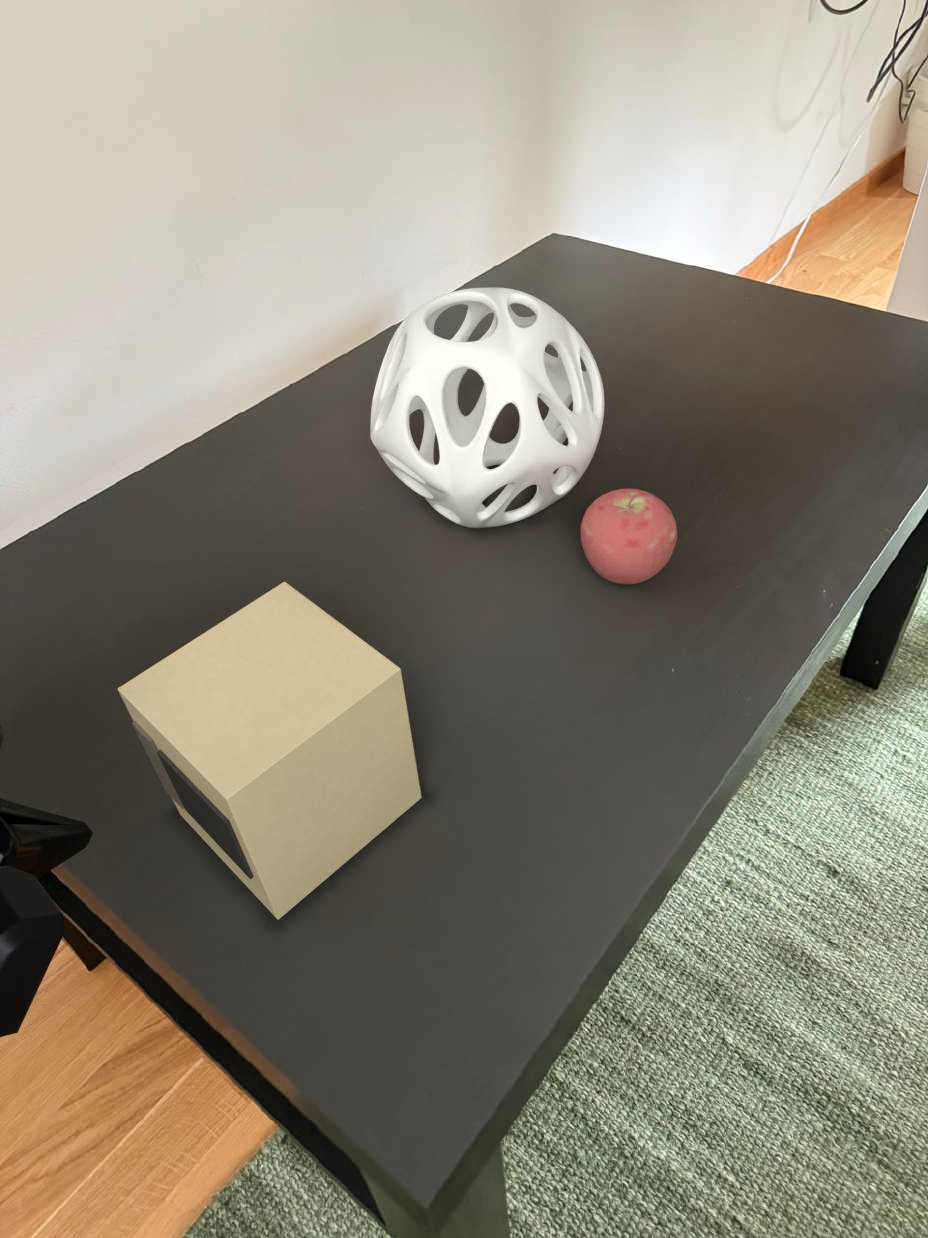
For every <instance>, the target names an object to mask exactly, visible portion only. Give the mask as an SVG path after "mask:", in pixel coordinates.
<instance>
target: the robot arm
mask: <svg viewBox="0 0 928 1238" xmlns="http://www.w3.org/2000/svg"><path fill="white" fill-rule="evenodd" d="M4 737H5V731H4V728H3V726H2V725H1V724H0V749H2V746H3V742H4ZM93 835H94V832H93V831H92V829H91V828H90V827H89V826H88V825H87V823H86V822H84V821H82V820H77V819H73V818H69V817H66V816H63V815H59V814H56V813H53V812H49V811H45V810H42V809H39V808H35V807H32V806H31V807H30V806H27V805H24V804H20V803H17V802H13V801H10V800H7V799H4V798H1V797H0V1038H5V1037H7V1036H11V1035H15V1034H18V1033H19V1031H20V1029H21V1027H22V1024H23V1022H24V1021H25V1018H26V1017H27V1014H28V1011H29V1010H30V1007H31V1005H32V1004H33V1001H34V999H35V997H36V995H37V993H38V991H39V989H40V986H41V985H42V982H43V979H44V978H45V976H46V974H47V972H48V969H49V967H50V965H51V963H52V961H53V958H54V956H55V955H56V952H57V950H58V948H59V946H60V943H61V941H62V940H63V937H64V935H65V927H64V924H65V923H64V913H63V912H62V910H61V909H60V908H59V906H58V905H57V903H56V902H55V901H54V900H53V899H52V898H53V897H51V895H49V893H48V892H47V890H46V889H45V887H44V886H43V885H42V884H41V882H40V880H38V879H40V878H42V877H43V876H45V875H46V874H48V873H49V872H51V871H52V870H54V869H55V868H57V867H58V866H60V865H62V864H64V863H65V862H66V861H68V860H69V859H71V858H72V857H74V856H76V855H77V854H78V853H80V852H82V851H84V850H85V849H86V848H87V847H88V845H89V843H90V841H91V839H92V837H93Z"/></svg>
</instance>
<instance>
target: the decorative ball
mask: <svg viewBox="0 0 928 1238" xmlns="http://www.w3.org/2000/svg"><path fill="white" fill-rule="evenodd" d="M513 304H517V305H518V304H519V305H522V306H525V307H527V308H528V309H530V310H531V311H532V312H533V313H534V315H531V316H520V315H517V314H516V313H515V312H514V311H513V309H512V306H511V305H513ZM457 305H465V306H467V311H466V315H465V317H464V320H463V322H462V324H461V326H460V327H459V329H458V331H456V333H455V334H454V336H453V337H452V338H450V339H446V338H443V337H441V336H438V335H436V334H435V331H434V329H435V324H436V321H437V319H438V318H439V317H440V315H441V314H442V313H443V312H445V310H448V309H449V308H451V307H454V306H457ZM491 313H492V314H493V319H492V322H491V324H490V327H489V328H488V329H487V331H486V332H485V333H484V334H483V336H482V337H480V338H479V339H478V340H474V341H469V339H470V338H471V335H472V334H473V332H474V331H475V329H476V327H477V326H478V325H479V323H481V321H482V320H483V319H484V318H485V317H486V316H487V315H489V314H491ZM548 345H549V346H552V348H554V350H555V351H556V353H557V357H556V356H554V355H552V354H549V353H548V352H547V351H546V348H547V346H548ZM581 360H582V362H583V364H584V366H585V370H582V364H581V363H582V362H581ZM468 370H472V371H473V372H475V373H477V374H478V375H479V377H481V379H482V382H483V386H482V389H481V393H480V395H479V397H478V400H477V402H476V404H475V406H474V408H473V409H472V410H471V412H470V413H469V414H468V415H464V414H463V413H462V412H461V410H460V407H459V389H460V384H461V382H462V380H463V378H464V376H465V374H466V373H467V371H468ZM538 398H539V399H540V400H541V401H542V402H543V403H544V404H545V405H546V407H547V408H548V411H547V415H546V416H545V418H544V419H543V418H542V415H541V412H540V408H539V402H538ZM508 404H512V405H514V406H515V408H516V409H517V412H518V416H519V422H518V431H517V433H516V435H515V437H514V438H513V439H512V440H510V441H508V442H506V443H500V442H496V441H494V440H493V439H492V438H491V437H490V435H491V432H492V430H493V427H494V424H495V423H496V420H497V419H498V416H499V415H500V413H501V412H502V410H503V409H504V408H505V407H506V405H508ZM571 404H572V410H571V409H569V407H570V405H571ZM605 405H606V404H605V390H604V383H603V379H602V375H601V373H600V370H599V367H598V364H597V362H596V358H595V357H594V355H593V353H592V351H591V349H590V348H589V346H588V344H587V343H586V341H585V340H584V338H583V337H582V336H581V334H580V333H579V332H578V330H577V329H576V328H575V327H574V326H573V325H572V324H571V323H570V322H569V321H568V320H567V319H566V318H565V317H564V316H563V315H562V314H561V313H559V312H558V311H557V310H556V309H555V308H554V307H552V306H550V305H549V304H548V303H546V302H545V301H543V300H541V299H540V298H537V297H536V296H534V295H532V294H529V293H527V292H524V291H521V290H518V289H514V288H508V287H494V286H493V287H471V288H470V287H469V288H462V289H459V290H455V291H451V292H447V293H444V294H441V295H439V296H437V297H434V298H432V299H429V300H428V301H426V302H425V303H422V304H421V305H419V306H418V307H416V308H415V309H413V310H412V311H410V312H409V314H408V315H407V316H406V317H405V318H404V319H403V321H402V322H401V323H400V324H399V325H398V327H397V329H396V330H395V332H394V334H393V336H392V337H391V339H390V341H389V343H388V346H387V349H386V352H385V354H384V357H383V359H382V362H381V366H380V368H379V371H378V375H377V378H376V382H375V387H374V391H373V396H372V401H371V408H370V409H371V410H370V422H369V423H370V425H369V427H370V428H369V431H370V432H369V433H370V435H369V436H370V437H369V438H370V441H371V442H372V444H373V446H374V447H375V449H376V450H377V452H378V454H379V456H380V457H381V458H382V460H383V461H384V463H385V465H386V466H387V467H388V469H389V470H390V471H391V472H392V473H393V474H394V475H395V476H396V477H397V478H398V480H400V481H401V483H403V484H404V485H405V486H407V487H408V488H409V489H411V490H412V491H413V492H415V493H416V494H418V495H419V496H422V497H423V498H424V499H425V500H426V502H427V503H428V504H429V505H430V506H431V507H432V508H433V509H434V510H435V511H436V512H438V513H439V514H440V515H441V516H442V517H445V519H448V520H449V521H450V522H453V523H455V524H457V525H459V526H462V527H465V528H470V529H484V528H485V529H486V528H494V527H501V526H506V525H510V524H513V523H517V522H520V521H522V520H525V519H527V518H529V517H532V516H534V515H536V514H537V513H540V512H541V511H543V510H545V509H546V508H548V507H550V506H551V505H553V504H554V503H556V502H557V501H559V500H560V499H562V498H564V497H565V496H566V495H568V494H569V493H570V491H571V490H573V488H574V487H575V486H576V485H577V484H578V482H579V481H580V480H581V478H582V477H583V475H584V474H585V472H586V471H587V469H588V467H589V465H590V463H591V462H592V459H593V458H594V455H595V452H596V450H597V448H598V444H599V441H600V438H601V433H602V429H603V424H604V416H605ZM417 410H420V411H421V412H422V414H423V426H424V427H423V434H422V439H421V443H420V446H419V449H418V447H417V446H416V443H415V442H414V439H413V436H412V433H411V428H410V417H411V414H413V413H414V412H415V411H417ZM436 438H437V445H438V451H439V453H438V454H439V461H438V464H435V459H434V453H435V452H434V451H435V441H436ZM566 440H567V442H568V444H567V445H564V443H565V441H566ZM493 466H496V467H495V468H491V469H490V467H493ZM534 485H535V486H536V491H535V494H534V496H533V498H531V499H530V500H529V502H527V503H526V504H524V505H522V506H521V507H518V508H515V509H512V510H508V511H507V508H508V507H509V505H510V504H511V503H512V501H513V500H514V499H515V498H516V497H517V496H518V495H519V494H520V493H521V492H522V491H524V490H525V489H527V488H529V487H531V486H534ZM502 487H504V489H502V491H501V492H500V494H498V495H497V497H496V498H495V499H494V500H493V501H492V502H491V503H490V504H489V505H487V506H485V505H484V504H483V502H484V501H485V500H486V499H487V498H489V496H490V495H492V494H493V493H495V492H496V491H497V490H499V489H500V488H502Z"/></svg>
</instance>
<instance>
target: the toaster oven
mask: <svg viewBox="0 0 928 1238" xmlns="http://www.w3.org/2000/svg"><path fill="white" fill-rule="evenodd" d="M117 691H118V693H119V696H120V697H121V699H122V701H123V703H124V706H125V707H126V710H127V711H128V714H129V715H130V717H131V720H132V721H133V722H131V726H132V727H133V729H134V731H135V733H136V735H137V737H138V739H139V741H140V743H141V745H142V747H143V749H144V751H145V753H146V755H147V757H148V759H149V761H150V763H151V765H152V767H153V769H154V771H155V774H157V777H158V779H159V781H160V782H161V783H160V784H161V785H162V787H163V788H164V791H165V792H166V793H167V795H168V796H169V797H171V799H172V802H173V803H174V805H175V808H176V809H177V811H178V813H179V815H180V816H181V817H182V819H184V820H185V822H186V823H188V825H189V826H190V827H191V828H192V829H193V831H195V833H197V835H199V837H200V838H201V839H202V840H203V841H204V842H205V843H206V844H207V845H208V846H209V847H210V848H211V850H213V852H214V853H215V854H216V855H217V856H218V857H219V859H221V861H222V862H223V863H224V864H225V865H226V866H227V867H228V868H229V869H230V870H231V871H232V872H233V874H234V875H235V876H236V877H237V878H238V879H239V880H240V881H241V882H242V884H244V885H245V887H247V888H248V889H249V891H251V893H252V894H253V895H254V896H255V897H256V898H257V899H258V900H259V901H260V903H261V904H262V905H263V906H264V907H265V908H266V909H267V910H268V911H269V912H270V913H271V914H272V915H273V917H274V918H275V919H276V920H278V921H279V920H280V919H281V918H282V917H284V916H285V915H286V914H287V913H289V911H291V910H292V909H293V908H294V907H295V906H297V905H298V904H299V903H300V902H301V901H303V900H304V899H305V898H306V897H307V896H308V895H309V894H310V893H312V892H313V891H314V890H315V889H317V888H318V887H319V886H320V885H321V884H322V883H323V882H324V881H326V880H327V879H328V878H330V876H332V875H333V874H334V873H335V872H337V870H339V869H340V868H341V867H342V866H343V865H345V864H346V863H347V862H348V861H350V859H352V858H353V857H354V856H355V855H356V854H358V853H359V852H360V851H361V850H362V849H363V848H365V847H366V846H367V845H368V844H369V843H370V842H372V841H373V840H374V839H375V838H376V837H378V836H379V835H380V834H381V833H382V832H384V831H385V830H386V829H387V828H388V827H389V826H391V825H392V824H393V823H394V822H395V821H396V820H397V819H399V818H400V817H401V816H402V815H403V814H404V813H405V812H407V811H409V809H410V808H411V807H413V806H414V805H415V804H416V803H417V802H418V801H420V800H421V799H422V791H421V785H420V779H419V773H418V766H417V760H416V754H415V749H414V748H415V747H414V742H413V735H412V730H411V729H412V728H411V723H410V717H409V711H408V705H407V699H406V694H405V687H404V681H403V675H402V669H401V668H400V667H399V666H398V665H397V664H395V663H394V662H393V661H391V660H390V659H389V658H387V657H386V656H385V655H383V654H382V653H381V652H380V651H378V650H377V649H376V648H374V647H373V646H371V645H370V644H369V643H367V642H366V640H365V641H364V639H362V638H361V637H359V636H358V635H356V634H355V633H354V632H352V630H350V629H349V628H347V627H346V626H345V625H344V624H342V623H341V622H339V621H338V620H337V619H335V618H334V617H333V616H332V615H330V614H329V613H328V612H326V611H325V610H323V609H322V608H321V607H319V606H318V605H317V604H316V603H314V602H313V601H311V600H310V599H309V598H308V597H306V596H305V595H303V594H302V593H301V592H299V591H298V590H297V589H295V588H294V587H293V586H291V585H290V584H289V583H287V582H286V581H283V582H281V583H280V584H278V585H277V586H275V587H274V588H272V589H271V590H269V591H267V592H266V593H264V594H263V595H261V596H259V597H257V598H256V599H254V600H253V601H252V602H250V603H249V604H247V605H246V606H244V607H242V608H241V609H239V610H237V611H236V612H235V613H232V615H230V616H228V617H227V618H225V619H224V620H222V621H221V622H219V623H217V624H216V625H214V626H213V627H211V628H209V629H208V630H207V631H205V632H204V633H202V634H200V635H199V636H197V637H196V638H194V639H193V640H190V642H188V643H187V644H185V645H183V646H182V647H179V649H177V650H175V651H174V652H172V653H171V654H169V655H168V656H166V657H164V658H163V659H161V660H160V661H158V662H156V663H155V664H153V665H152V666H150V667H149V668H147V669H146V670H144V671H143V672H140V673H139V674H138V675H136V676H135V677H133V678H131V679H130V680H129V681H127V682H126V683H124V684H122V685H121V686H120V687H117Z"/></svg>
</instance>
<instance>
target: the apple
mask: <svg viewBox="0 0 928 1238" xmlns="http://www.w3.org/2000/svg"><path fill="white" fill-rule="evenodd" d="M580 522H581V523H580V529H579V530H580V542H581V546H582V549H583V552H584V555H585V557H586V559H587V561H588V563H589V564H590V565H591V567H592V569H593V570H594V571H595V572H596V573H597V574H598V575H599V576H601V578H603V579H604V580H607V581H608V582H611V583H614V584H617V585H637V584H641V583H643V582H645V581H648V580H651V579H652V578H653V577H655V576H656V575H657V574H658V573H660V572H661V570H662V569H663V568H664V567H665V566H666V565H667V564H668V562H669V561H670V559H671V557H672V555H673V552H674V551H675V548H676V545H677V541H678V527H677V522H676V519H675V517H674V515H673V513H672V510H671V509H670V507H668V505H667V504H666V503H665V502H664V501H663V500H662V499H661V498H659V497H658V496H656V495H655V494H653V493H651V492H649V491H646V490H642V489H638V488H618V489H615V490H614V489H613V490H611V491H609V492H606V493H604V494H602V495H600V496H599V497H597V498H596V499H595V500H594V501H593V502H592V503H591V504H590V505H589V506H588V507H587V508H586V510H585V512H584V514H583V517H582V520H581V521H580Z"/></svg>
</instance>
